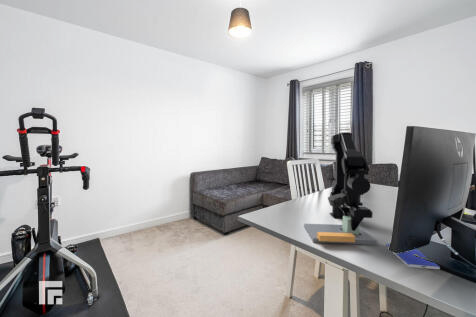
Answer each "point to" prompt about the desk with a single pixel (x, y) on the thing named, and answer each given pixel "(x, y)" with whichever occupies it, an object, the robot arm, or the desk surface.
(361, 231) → the socket plate
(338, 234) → the bar
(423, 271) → the desk surface
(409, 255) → the hard drive
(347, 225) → the pale green block
